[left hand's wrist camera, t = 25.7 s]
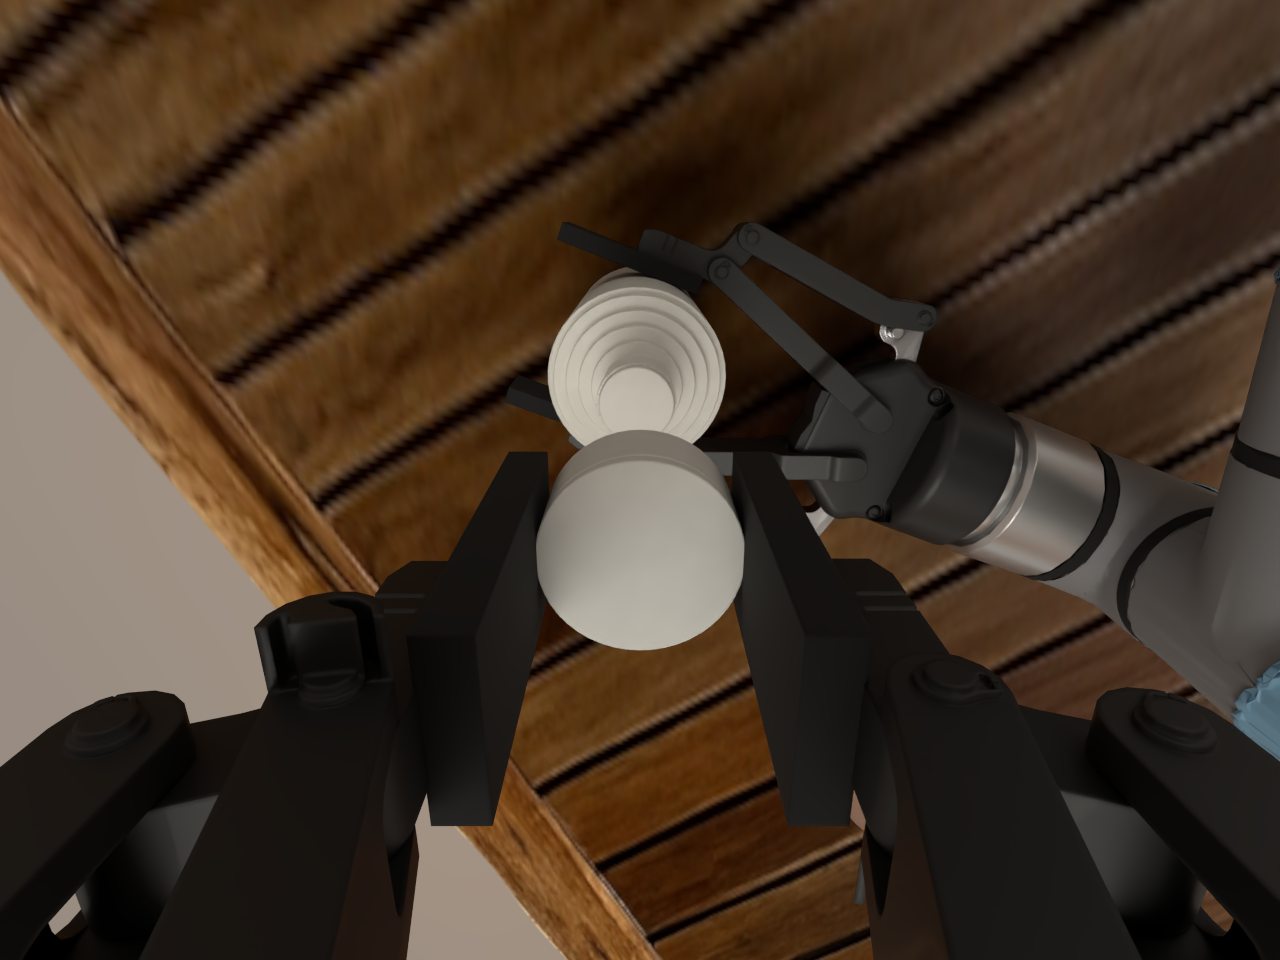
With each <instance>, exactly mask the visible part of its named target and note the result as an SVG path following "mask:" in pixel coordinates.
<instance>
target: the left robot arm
mask: <svg viewBox="0 0 1280 960" xmlns="http://www.w3.org/2000/svg"><path fill="white" fill-rule="evenodd" d="M549 497H550V496H549V475H548V454H547V452H509V453H508V455H507V456H506V458H505V460H504V462H503V463H502V465H501V467H500V469H499V471H498V472H497V474H496V476H495V478H494V480H493V481H492V483H491V485H490V487H489V488H488V490H487V492H486V494H485V496H484V497H483V499H482V501H481V503H480V505H479V506H478V508H477V510H476V512H475V513H474V515H473V517H472V519H471V521H470V522H469V524H468V526H467V528H466V530H465V531H464V533H463V535H462V537H461V539H460V540H459V542H458V544H457V546H456V547H455V549H454V551H453V553H452V555H451V556H450V558H449V560H448V561H411V562H409V563H408V564H406V565H405V566H403V567H402V568H400V569H399V570H397V571H396V572H394V573H392V574H391V575H389V576H388V577H387V578H386V580H385V581H384V583H383V584H382V586H381V587H380V588H379V590H378V591H377V593H376V594H375V597H373V596H370V595H366V594H362V593H358V592H329V593H323V594H317V595H311V596H307V597H304V598H301V599H299V600H296V601H293V602H290V603H287V604H285V605H283V606H281V607H279V608H278V609H276V610H274V611H272V612H271V613H269V614H267V615H266V616H265V617H264V618H263V619H262V620H261V621H260V622H259V623H258V624H257V625H256V626H255V627H254V630H255V635H256V639H257V644H258V649H259V653H260V658H261V662H262V667H263V671H264V676H265V681H266V685H267V690H268V694H267V696H266V699H265V701H264V703H263V705H262V707H261V708H260V709H257V710H253V711H249V712H245V713H241V714H237V715H231V716H226V717H221V718H216V719H211V720H207V721H201V722H196V723H191V724H190V722H189V719H188V715H187V711H186V708H185V704H184V703H183V702H182V701H181V700H180V699H179V698H178V697H177V696H175V695H174V694H170V693H165V692H159V691H144V692H132V693H125V694H119V695H117V696H115V697H113V696H111V697H108V698H105V699H101V700H99V701H97V702H95V703H94V704H91V705H89V706H87V707H85V708H82V709H80V710H78V711H75V712H73V713H71V714H70V715H68V716H67V717H65V718H64V719H62V720H61V721H59V722H58V723H56V724H54V725H53V726H51V727H50V728H48V729H47V730H46V731H44V732H43V733H42V734H41V735H40V736H38V737H37V738H36V739H35V740H33V741H32V742H31V743H30V744H28V745H27V746H26V747H25V748H23V749H22V750H21V751H20V752H18V753H17V754H16V755H15V756H13V757H12V758H11V759H10V760H9V761H7V762H6V763H5V764H4V765H2V766H1V767H0V960H406V958H407V950H408V942H409V934H410V926H411V918H412V910H413V901H414V894H415V886H416V877H417V869H418V861H419V851H418V843H417V836H416V829H415V823H416V820H417V818H418V815H419V812H420V810H421V807H422V804H423V801H424V799H425V796H426V793H427V798H428V805H429V813H430V820H431V826H493V822H494V818H495V814H496V809H497V805H498V801H499V797H500V793H501V789H502V785H503V781H504V776H505V772H506V768H507V764H508V760H509V756H510V752H511V747H512V743H513V739H514V735H515V731H516V727H517V723H518V719H519V714H520V710H521V706H522V702H523V698H524V694H525V690H526V686H527V681H528V677H529V673H530V669H531V665H532V661H533V657H534V653H535V648H536V644H537V640H538V636H539V632H540V628H541V624H542V620H543V615H544V611H545V607H546V603H547V598H546V596H545V595H544V592H543V590H542V588H541V585H540V583H539V579H538V571H537V553H536V539H537V533H538V530H539V527H540V524H541V521H542V518H543V515H544V512H545V509H546V506H547V503H548V500H549ZM731 497H732V500H733V503H734V506H735V509H736V512H737V515H738V518H739V521H740V524H741V528H742V531H743V534H744V541H745V543H744V563H743V578H742V582H741V585H740V588H739V590H738V592H737V594H736V596H735V598H734V600H733V601H734V605H735V609H736V614H737V618H738V622H739V626H740V630H741V634H742V638H743V642H744V647H745V651H746V655H747V659H748V663H749V667H750V671H751V675H752V680H753V684H754V688H755V692H756V696H757V700H758V704H759V708H760V713H761V717H762V721H763V725H764V729H765V733H766V737H767V741H768V746H769V750H770V754H771V758H772V762H773V766H774V770H775V774H776V778H777V783H778V787H779V791H780V795H781V799H782V803H783V807H784V811H785V816H786V820H787V824H788V826H849V824H850V817H851V809H852V802H853V794H854V791H855V794H856V796H857V799H858V802H859V804H860V807H861V810H862V812H863V815H864V818H865V820H866V822H865V829H864V836H863V843H862V850H861V857H860V864H859V871H858V878H857V885H856V892H855V900H854V903H855V904H862V905H864V900H865V894H866V900H867V908H868V916H869V924H870V932H871V940H872V948H873V956H874V960H1280V762H1279V761H1278V760H1277V759H1276V758H1274V757H1273V756H1272V755H1271V754H1269V753H1268V752H1267V751H1266V750H1264V749H1263V748H1262V747H1261V746H1259V745H1258V744H1257V743H1256V742H1254V741H1253V740H1252V739H1251V738H1249V737H1248V736H1247V735H1246V734H1244V733H1243V732H1242V731H1241V730H1239V729H1238V728H1237V727H1236V726H1234V725H1233V724H1231V723H1230V722H1228V721H1227V720H1225V719H1223V718H1222V717H1220V716H1219V715H1217V714H1216V713H1214V712H1213V711H1211V710H1209V709H1207V708H1205V707H1203V706H1200V705H1198V704H1196V703H1193V702H1191V701H1189V700H1187V699H1186V698H1184V697H1181V696H1178V695H1175V694H1172V693H1169V694H1167V693H1165V692H1164V691H1159V690H1154V689H1141V688H1129V687H1126V688H1120V689H1115V690H1110V691H1107V692H1106V693H1105V694H1103V695H1102V696H1101V697H1100V698H1099V699H1098V700H1097V703H1096V706H1095V710H1094V714H1093V717H1092V721H1091V720H1086V719H1081V718H1076V717H1071V716H1066V715H1061V714H1056V713H1051V712H1046V711H1041V710H1036V709H1033V708H1029V707H1025V706H1021V705H1018V704H1017V701H1016V699H1015V697H1014V695H1013V693H1012V692H1011V690H1010V689H1009V688H1008V687H1007V685H1006V684H1005V683H1004V682H1003V680H1002V679H1001V678H1000V677H999V676H997V675H996V674H994V673H993V672H991V671H990V670H988V669H987V668H985V667H984V666H982V665H980V664H977V663H975V662H972V661H970V660H967V659H965V658H962V657H960V656H955V655H950V654H949V652H948V651H947V650H946V648H945V647H944V645H943V644H942V642H941V641H940V640H939V638H938V637H937V635H936V634H935V633H934V631H933V630H932V628H931V627H930V626H929V624H928V623H927V621H926V620H925V618H924V617H923V616H922V614H921V613H920V611H917V610H916V606H915V604H914V603H913V602H912V600H911V599H910V597H909V596H906V592H905V590H904V589H903V587H902V586H901V585H900V583H899V582H898V580H897V579H896V578H895V576H894V575H893V574H892V573H891V572H889V571H887V570H886V569H884V568H883V567H881V566H880V565H878V564H877V563H875V562H873V561H872V560H870V559H831V557H830V555H829V554H828V552H827V550H826V548H825V547H824V545H823V543H822V541H821V539H820V538H819V536H818V534H817V532H816V530H815V529H814V527H813V525H812V523H811V522H810V520H809V518H808V516H807V514H806V513H805V511H804V509H803V507H802V505H801V504H800V502H799V500H798V498H797V497H796V495H795V493H794V491H793V489H792V488H791V486H790V484H789V482H788V480H787V479H786V477H785V475H784V473H783V472H782V470H781V468H780V466H779V464H778V463H777V461H776V459H775V457H774V455H773V454H772V452H733V464H732V484H731ZM1206 890H1208V891H1209V892H1210V893H1211V894H1212V895H1213V896H1214V898H1215V899H1216V900H1217V901H1218V902H1219V903H1220V904H1221V905H1222V906H1223V907H1224V909H1225V910H1226V911H1227V912H1228V913H1229V914H1230V915H1231V916H1232V917H1233V918H1234V920H1233V923H1232V925H1231V928H1230V929H1229V931H1228V932H1226V931H1224V930H1223V929H1222V928H1221V927H1220V926H1218V925H1217V924H1216V923H1215V922H1214V921H1213V920H1212V919H1211V918H1210V917H1209V916H1208V914H1207V913H1206V912H1205V911H1204V910H1203V909H1202V908H1201V904H1202V901H1203V898H1204V896H1205V893H1206ZM74 894H76V896H77V899H78V902H79V904H80V907H81V910H80V911H79V912H78V914H77V915H76V916H75V917H74V918H73V919H72V920H71V922H70V923H69V924H68V925H66V926H65V927H64V928H63V929H62V930H60V931H59V932H58V933H57V934H56V935H55V934H54V933H53V932H52V931H51V928H50V926H49V921H50V920H51V919H52V918H53V917H54V916H55V915H56V914H57V912H58V911H59V910H60V909H61V908H62V907H63V906H64V905H65V904H66V903H67V901H68V900H69V899H70V898H71V897H72V896H73V895H74Z"/></svg>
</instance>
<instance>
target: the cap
mask: <svg viewBox="0 0 1280 960" xmlns="http://www.w3.org/2000/svg"><path fill="white" fill-rule="evenodd" d="M744 543H745V541H744V534H743V531H742V528H741V524H740V521H739V518H738V515H737V512H736V509H735V506H734V503H733V500H732V497H731V494H730V491H729V488H728V485H727V483H726V481H725V479H724V477H723V475H722V473H721V472H720V470H719V469H718V467H717V466H716V465H715V464H714V462H713V461H712V460H711V459H710V458H709V457H708V456H707V455H706V454H705V453H704V452H702V451H701V450H700V449H699V448H697V447H696V446H694V445H693V444H691V443H690V442H688V441H686V440H684V439H681V438H679V437H677V436H674V435H671V434H668V433H664V432H659V431H654V430H627V431H622V432H616V433H613V434H610V435H607V436H604V437H602V438H600V439H597V440H595V441H593V442H591V443H590V444H588V445H587V446H585V447H583V448H582V449H581V450H580V451H579V452H577V453H576V454H575V455H574V456H573V457H572V458H571V459H570V460H569V461H568V462H567V463H566V464H565V466H564V467H563V469H562V470H561V472H560V473H559V475H558V477H557V479H556V481H555V483H554V485H553V488H552V491H551V494H550V497H549V500H548V503H547V506H546V509H545V512H544V515H543V518H542V521H541V524H540V527H539V530H538V533H537V539H536V553H537V571H538V579H539V583H540V585H541V588H542V590H543V592H544V595H545V596H546V598H547V600H548V601H549V603H550V605H551V606H552V607H553V609H554V610H555V611H556V612H557V614H558V615H559V616H560V617H561V618H562V619H563V620H564V621H565V622H566V623H567V624H568V625H570V626H571V627H572V628H574V629H575V630H576V631H578V632H579V633H581V634H583V635H584V636H586V637H588V638H590V639H592V640H594V641H597V642H599V643H602V644H605V645H608V646H611V647H616V648H621V649H628V650H653V649H659V648H665V647H669V646H673V645H676V644H679V643H682V642H684V641H687V640H689V639H691V638H693V637H695V636H696V635H698V634H700V633H702V632H703V631H704V630H706V629H707V628H709V627H710V626H711V625H712V624H714V623H715V622H716V621H717V620H718V619H719V618H720V617H721V616H722V615H723V613H724V612H725V611H726V610H727V609H728V607H729V606H730V604H731V603H732V601H733V600H734V598H735V596H736V594H737V592H738V590H739V588H740V585H741V582H742V578H743V563H744Z"/></svg>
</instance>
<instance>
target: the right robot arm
mask: <svg viewBox="0 0 1280 960" xmlns="http://www.w3.org/2000/svg"><path fill="white" fill-rule="evenodd" d="M557 240H560V241H562V242H565V243H567V244H570V245H572V246H575V247H577V248H580V249H582V250H585V251H587V252H590V253H592V254H595V255H597V256H600V257H602V258H605V259H607V260H610V261H612V262H615V263H617V264H620V265H622V266H625V267H628V268H630V269H633V270H635V271H638V272H640V273H643V274H645V275H648V276H650V277H653V278H655V279H658V280H660V281H663V282H666V283H668V284H670V285H673V286H675V287H678V288H680V289H683V290H685V291H688V292H690V293H693V294H695V295H697V293H698V290H699V288H700V285H701V283H702V280H703V279H704V280H707V281H709V282H712V283H713V284H714V285H715V286H716V287H717V288H718V289H719V290H721V291H722V292H723V293H724V294H725V295H726V296H727V297H728V298H729V299H730V300H731V301H732V302H733V303H734V304H735V305H737V306H738V307H739V308H740V309H741V310H742V311H743V312H744V313H745V314H746V315H747V316H748V317H749V318H750V319H751V320H753V321H754V322H755V323H756V324H757V325H758V326H759V327H760V328H761V329H762V330H763V331H764V332H765V333H766V334H767V335H769V336H770V337H771V338H772V339H773V340H774V341H775V342H776V343H777V344H778V345H779V346H780V347H781V348H782V349H783V350H785V351H786V352H787V353H788V354H789V355H790V356H791V357H792V358H793V359H794V360H795V361H796V362H797V363H798V364H799V365H800V366H801V367H803V368H804V369H805V370H806V371H807V372H808V373H809V374H810V375H811V376H812V377H813V378H814V379H815V380H816V382H815V381H812V383H811V385H810V387H809V389H808V392H807V394H806V397H805V403H804V408H803V411H802V412H801V414H800V415H799V416H798V417H797V419H796V420H795V421H794V422H793V423H792V425H791V428H790V430H789V432H788V434H787V436H785V435H772V436H767V437H765V438H698V439H697V440H696V441H695V442H694V443H693V445H694V446H696V447H697V448H699V449H700V450H701V451H702V452H704V453H705V454H706V455H707V456H708V457H709V458H710V459H711V460H712V461H713V462H714V464H715V465H716V466H717V467H718V469H719V470H720V472H721V473H722V475H723V476H732V464H733V452H772V454H773V455H774V457H775V459H776V461H777V463H778V464H779V466H780V468H781V470H782V472H783V473H784V475H785V477H786V479H787V480H804V481H805V482H806V484H807V486H808V487H809V489H810V491H811V492H812V494H813V495H814V497H815V499H816V501H815V502H814V503H813V504H812V505H810V506H802V507H803V509H804V511H805V513H806V514H807V516H808V518H809V520H810V522H811V523H812V525H813V527H814V529H815V530H816V532H817V534H818V536H820V535H821V534H822V532H823V531H824V530H825V529H826V528H827V527H828V525H829V524H830V523H831V522H832V521H833V519H834V518H838V519H845V518H852V517H859V518H865V519H868V520H871V521H873V522H875V523H878V524H881V525H884V526H886V527H889V528H892V529H895V530H897V531H900V532H903V533H905V534H908V535H911V536H914V537H916V538H919V539H922V540H925V541H927V542H930V543H933V544H937V545H945V546H946V547H947V548H948V549H950V550H952V551H954V552H957V553H959V554H962V555H965V556H968V557H971V558H974V559H977V560H979V561H982V562H985V563H988V564H991V565H994V566H997V567H999V568H1002V569H1005V570H1008V571H1011V572H1014V573H1017V574H1020V575H1022V576H1025V577H1027V578H1030V579H1033V580H1036V581H1039V582H1041V583H1044V584H1046V585H1049V586H1052V587H1054V588H1057V589H1059V590H1062V591H1065V592H1067V593H1070V594H1072V595H1075V596H1077V597H1079V598H1082V599H1084V600H1086V601H1088V602H1089V603H1091V604H1093V605H1094V606H1096V607H1097V608H1099V609H1100V610H1102V611H1103V612H1104V613H1105V614H1106V615H1107V616H1109V617H1110V618H1111V619H1112V620H1113V621H1115V622H1116V623H1117V624H1118V625H1119V626H1120V627H1122V628H1123V629H1124V630H1125V631H1126V632H1128V633H1129V634H1130V635H1131V636H1132V637H1133V638H1135V639H1136V640H1138V641H1139V642H1141V643H1142V644H1143V645H1144V646H1146V647H1147V648H1148V649H1150V650H1152V651H1154V652H1155V653H1156V654H1157V655H1158V656H1159V657H1161V658H1162V659H1163V660H1164V661H1165V662H1166V663H1168V664H1169V665H1170V666H1171V667H1172V668H1173V669H1174V670H1175V671H1176V672H1178V673H1179V674H1180V675H1181V676H1182V677H1183V678H1184V679H1185V680H1187V681H1188V682H1189V683H1190V684H1191V685H1192V686H1193V687H1194V688H1195V689H1197V690H1198V691H1199V692H1200V693H1201V694H1202V695H1203V696H1204V697H1206V698H1207V699H1208V700H1209V701H1210V702H1211V703H1212V704H1213V705H1214V706H1216V707H1217V708H1218V709H1219V710H1220V711H1221V712H1222V713H1223V714H1225V715H1226V716H1227V717H1228V718H1229V719H1230V720H1231V721H1232V722H1233V724H1234V726H1236V727H1237V728H1238V729H1239V730H1241V731H1242V732H1243V733H1244V734H1246V735H1247V736H1248V737H1249V738H1251V739H1252V740H1253V741H1254V742H1256V743H1257V744H1258V745H1259V746H1261V747H1262V748H1263V749H1265V750H1266V751H1267V752H1269V753H1270V754H1271V755H1273V756H1274V757H1276V758H1277V759H1278V760H1280V265H1279V266H1278V269H1277V271H1276V272H1275V274H1274V279H1275V284H1277V286H1276V289H1275V293H1274V297H1273V301H1272V305H1271V308H1270V312H1269V316H1268V320H1267V324H1266V328H1265V331H1264V335H1263V339H1262V343H1261V347H1260V350H1259V354H1258V358H1257V362H1256V366H1255V370H1254V373H1253V377H1252V381H1251V385H1250V389H1249V392H1248V396H1247V400H1246V404H1245V408H1244V411H1243V415H1242V419H1241V423H1240V427H1239V430H1238V432H1237V433H1236V436H1235V439H1234V443H1233V447H1232V449H1231V451H1230V455H1229V458H1228V462H1227V465H1226V468H1225V472H1224V475H1223V479H1222V482H1221V485H1220V489H1219V492H1218V491H1217V490H1216V489H1213V488H1211V487H1207V486H1204V485H1202V484H1199V483H1195V482H1187V481H1185V480H1182V479H1180V478H1177V477H1175V476H1172V475H1170V474H1167V473H1165V472H1162V471H1160V470H1157V469H1154V468H1151V467H1149V466H1146V465H1143V464H1141V463H1138V462H1135V461H1132V460H1130V459H1127V458H1124V457H1122V456H1119V455H1116V454H1113V453H1111V452H1108V451H1105V450H1103V449H1100V448H1099V447H1097V446H1095V445H1093V444H1090V443H1089V442H1087V441H1084V440H1082V439H1079V438H1077V437H1074V436H1072V435H1069V434H1067V433H1064V432H1062V431H1059V430H1057V429H1054V428H1052V427H1050V426H1047V425H1045V424H1042V423H1040V422H1037V421H1035V420H1032V419H1030V418H1027V417H1025V416H1022V415H1019V414H1016V413H1012V412H1009V413H1006V412H1005V411H1004V410H1003V409H1002V408H1001V407H999V406H997V405H994V404H992V403H989V402H987V401H984V400H982V399H979V398H977V397H974V396H972V395H969V394H967V393H964V392H962V391H959V390H957V389H954V388H952V387H949V386H947V385H944V384H942V383H939V382H937V381H934V380H932V379H930V378H929V377H928V376H927V375H926V373H925V372H924V371H923V369H922V368H921V366H920V365H919V364H917V363H916V360H917V356H918V352H919V349H920V345H921V341H922V337H923V334H924V332H925V331H928V330H930V329H932V328H933V327H934V326H935V324H936V322H937V320H938V314H937V311H936V309H935V308H934V307H933V306H930V305H927V304H924V303H920V302H917V301H913V300H910V299H903V298H896V297H889V296H884V295H882V294H881V293H879V292H877V291H875V290H874V289H872V288H870V287H868V286H867V285H865V284H863V283H861V282H860V281H858V280H856V279H854V278H853V277H851V276H849V275H848V274H846V273H844V272H842V271H841V270H839V269H837V268H835V267H834V266H832V265H830V264H828V263H827V262H825V261H823V260H821V259H820V258H818V257H816V256H814V255H813V254H811V253H809V252H807V251H806V250H804V249H802V248H800V247H799V246H797V245H795V244H793V243H792V242H790V241H788V240H786V239H785V238H783V237H781V236H779V235H778V234H776V233H774V232H772V231H771V230H769V229H767V228H765V227H764V226H762V225H760V224H758V223H755V222H744V223H740V224H738V225H736V227H735V228H734V229H733V232H732V233H731V234H730V235H729V236H728V237H727V239H726V240H725V241H724V242H723V243H722V244H721V245H720V246H719V247H717V248H715V249H704V248H701V247H698V246H696V245H694V244H691V243H689V242H686V241H684V240H681V239H679V238H676V237H674V236H671V235H669V234H666V233H664V232H662V231H659V230H657V229H644V231H643V234H642V237H641V239H640V242H639V245H638V248H637V249H634V248H632V247H629V246H627V245H624V244H622V243H619V242H617V241H614V240H612V239H609V238H607V237H604V236H602V235H599V234H597V233H594V232H592V231H589V230H587V229H585V228H582V227H580V226H577V225H575V224H572V223H570V222H563V223H562V226H561V229H560V232H559V235H558V238H557ZM751 256H753V257H755V258H756V259H758V260H760V261H762V262H764V263H765V264H767V265H769V266H771V267H772V268H774V269H776V270H778V271H780V272H781V273H783V274H785V275H787V276H788V277H790V278H792V279H794V280H796V281H797V282H799V283H801V284H803V285H804V286H806V287H808V288H810V289H811V290H813V291H815V292H817V293H819V294H820V295H822V296H824V297H826V298H827V299H829V300H831V301H833V302H835V303H836V304H838V305H840V306H842V307H843V308H845V309H847V310H849V311H851V312H852V313H854V314H857V315H859V316H861V317H863V318H865V319H868V320H870V321H872V322H875V324H874V334H875V336H876V337H877V338H878V339H879V340H882V341H884V342H885V343H887V344H888V346H889V349H890V355H889V356H887V357H883V358H879V359H875V360H871V361H867V362H863V363H860V364H856V365H852V366H848V367H844V368H843V367H842V366H841V365H840V364H839V363H838V362H837V361H836V360H835V359H834V358H833V357H832V356H830V355H829V354H828V353H827V352H826V351H825V350H824V349H823V348H822V347H821V346H820V345H819V344H818V343H817V342H816V341H814V340H813V339H812V338H811V337H810V336H809V335H808V334H807V333H806V332H805V331H804V330H803V329H802V328H801V327H800V326H799V325H798V324H797V323H796V322H795V321H794V320H792V319H791V318H790V317H789V316H788V315H787V314H786V313H785V312H784V311H783V310H782V309H781V308H780V307H779V306H778V305H777V304H776V303H775V302H774V301H773V300H772V299H771V298H769V297H768V296H767V295H766V294H765V293H764V292H763V291H762V290H761V289H760V288H759V287H758V286H757V285H756V284H755V283H754V282H753V281H752V280H751V279H750V278H749V277H747V276H746V275H745V274H744V273H743V272H742V271H741V270H740V269H741V268H742V266H743V265H744V264H745V263H746V262H747V261H748V260H749V258H750V257H751ZM505 402H506V403H509V404H512V405H515V406H517V407H520V408H523V409H526V410H528V411H531V412H534V413H537V414H539V415H542V416H545V417H548V418H550V419H553V420H556V421H559V422H561V420H560V418H559V417H558V415H557V413H556V410H555V408H554V406H553V403H552V399H551V396H550V392H549V386H547V385H544V384H541V383H539V382H536V381H533V380H531V379H528V378H525V377H522V376H520V375H518V377H517V378H516V379H515V381H514V382H513V383H512V384H511V386H510V387H509V390H508V393H507V396H506V399H505ZM561 423H562V422H561ZM568 441H569V442H570V443H571V444H572V445H573V446H575V447H576V448H578V449H580V450H581V449H582V448H583V447H585V446H584V445H583V444H581V443H580V442H579V441H577V440H576V439H575V438H574V437H573V436H572V435H571V434H570V436H569V439H568ZM730 494H731V493H730Z"/></svg>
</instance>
